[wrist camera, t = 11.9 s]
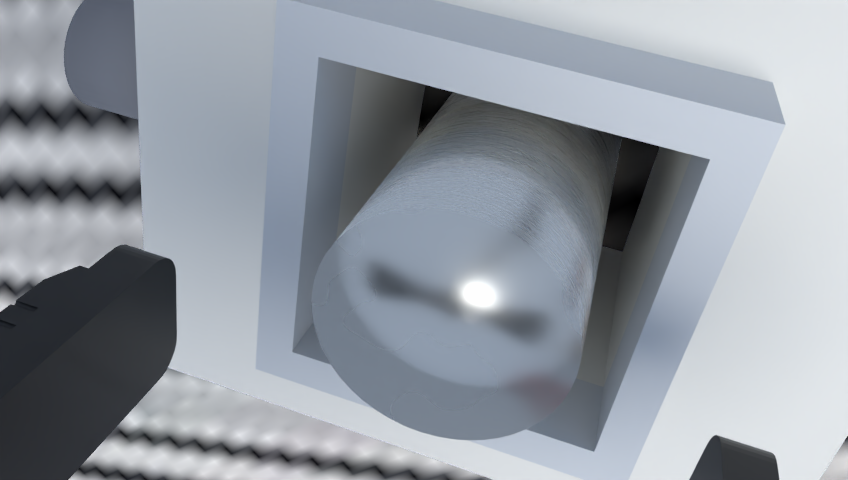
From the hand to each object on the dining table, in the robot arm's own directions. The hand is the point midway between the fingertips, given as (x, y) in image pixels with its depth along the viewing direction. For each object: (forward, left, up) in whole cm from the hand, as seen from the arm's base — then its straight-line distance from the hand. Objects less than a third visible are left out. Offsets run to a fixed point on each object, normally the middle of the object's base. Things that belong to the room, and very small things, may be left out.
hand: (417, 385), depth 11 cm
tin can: (0, 0, -11) cm, 11 cm away
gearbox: (+2, 0, -11) cm, 11 cm away
